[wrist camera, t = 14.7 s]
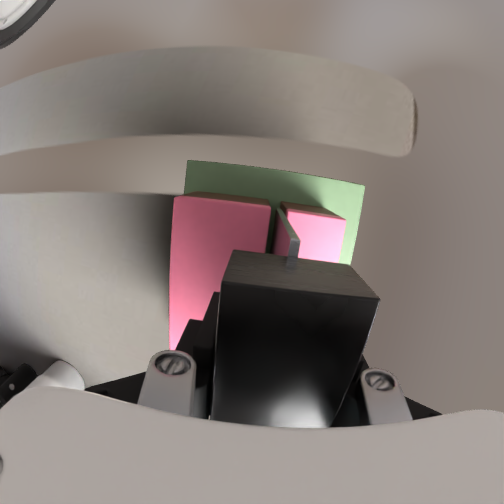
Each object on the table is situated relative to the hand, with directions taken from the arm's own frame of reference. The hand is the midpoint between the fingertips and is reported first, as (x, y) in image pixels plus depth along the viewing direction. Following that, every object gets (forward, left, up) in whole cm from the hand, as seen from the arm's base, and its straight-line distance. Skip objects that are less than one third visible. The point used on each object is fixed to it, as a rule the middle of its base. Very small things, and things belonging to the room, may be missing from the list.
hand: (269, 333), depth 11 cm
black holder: (0, 0, -5) cm, 5 cm away
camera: (+23, -32, -10) cm, 41 cm away
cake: (0, -3, -9) cm, 9 cm away
